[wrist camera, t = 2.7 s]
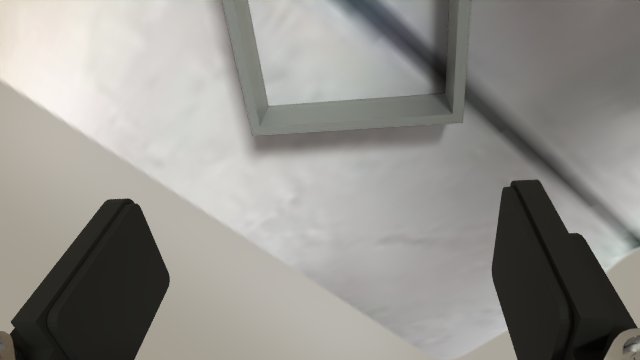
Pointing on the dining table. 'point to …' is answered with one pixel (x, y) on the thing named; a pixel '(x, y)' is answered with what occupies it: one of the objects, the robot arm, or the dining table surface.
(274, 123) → the grey bin
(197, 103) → the dining table surface
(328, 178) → the dining table surface
